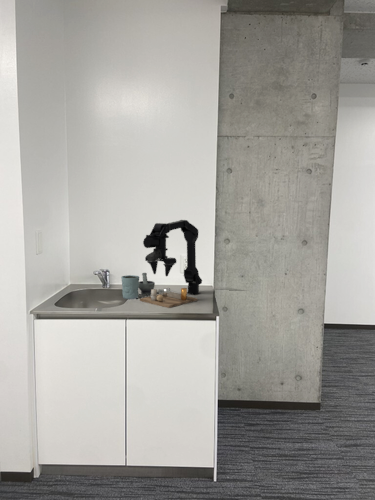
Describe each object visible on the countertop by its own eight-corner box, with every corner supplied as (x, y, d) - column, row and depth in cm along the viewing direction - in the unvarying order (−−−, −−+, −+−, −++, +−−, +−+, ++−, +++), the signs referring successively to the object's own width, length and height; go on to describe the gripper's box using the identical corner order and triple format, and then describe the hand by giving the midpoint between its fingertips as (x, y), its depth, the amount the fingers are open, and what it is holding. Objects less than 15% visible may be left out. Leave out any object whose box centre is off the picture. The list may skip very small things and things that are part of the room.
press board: (168, 294, 247) (168, 282, 246) (197, 300, 232) (197, 287, 232) (139, 300, 229) (139, 287, 229) (168, 307, 215) (168, 294, 214)
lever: (157, 294, 238) (157, 284, 238) (162, 293, 241) (162, 283, 241) (183, 300, 226) (183, 289, 225) (188, 299, 229) (188, 288, 228)
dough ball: (159, 300, 227) (159, 293, 226) (164, 301, 224) (164, 294, 224) (155, 301, 224) (155, 294, 223) (159, 302, 222) (160, 295, 221)
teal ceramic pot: (124, 300, 231) (124, 278, 229) (119, 296, 240) (119, 275, 238) (141, 298, 235) (141, 277, 234) (136, 294, 244) (136, 274, 243)
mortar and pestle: (156, 295, 244) (156, 274, 243) (140, 296, 241) (140, 275, 240) (151, 291, 255) (151, 271, 253) (136, 292, 252) (136, 272, 250)
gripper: (137, 246, 225) (137, 274, 227) (162, 249, 213) (162, 279, 215) (152, 244, 234) (152, 272, 235) (177, 247, 221) (176, 276, 223)
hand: (160, 275), depth 227 cm, fingers open, 9 cm apart
